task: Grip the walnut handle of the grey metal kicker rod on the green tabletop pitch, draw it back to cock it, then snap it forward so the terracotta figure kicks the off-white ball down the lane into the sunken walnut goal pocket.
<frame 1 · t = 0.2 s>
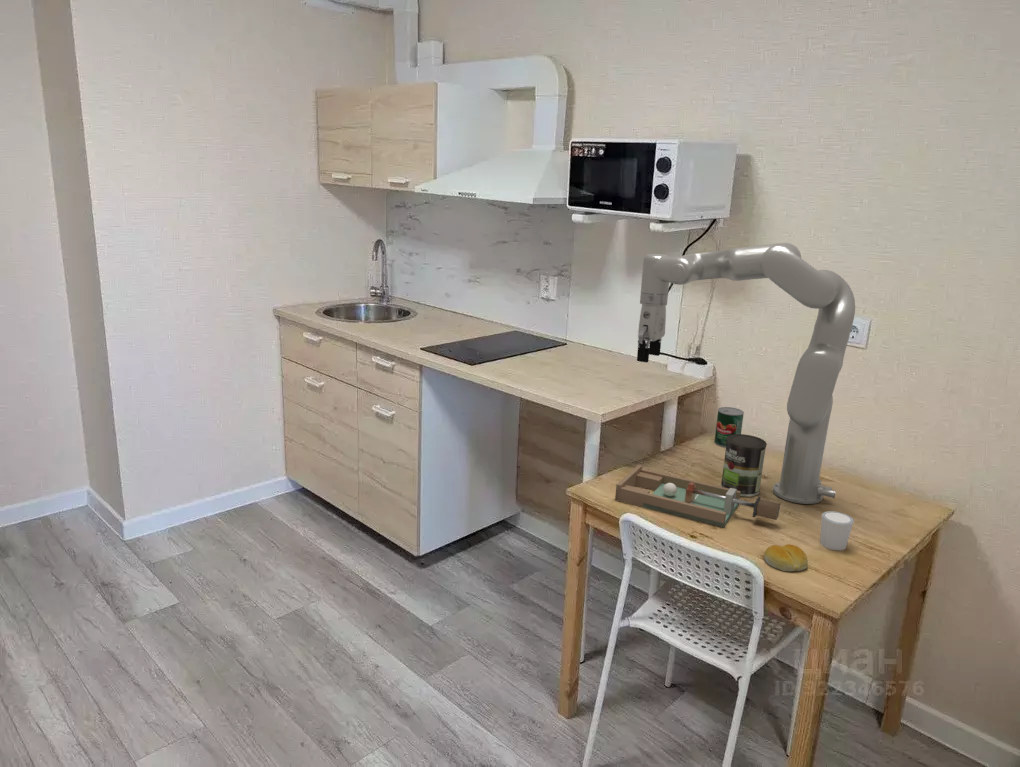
hand: (648, 358, 211), 31 cm above the table, fingers open, 9 cm apart
kicker rod: (731, 501, 185), point 4 cm above the table, slide at 3.0 cm
canned tomato: (726, 444, 236), on the table
bread roll: (785, 564, 164), on the table
pitch: (677, 502, 192), on the table
white cup: (832, 545, 173), on the table
ball: (670, 489, 192), point 3 cm above the table, touching pitch
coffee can: (740, 489, 202), on the table
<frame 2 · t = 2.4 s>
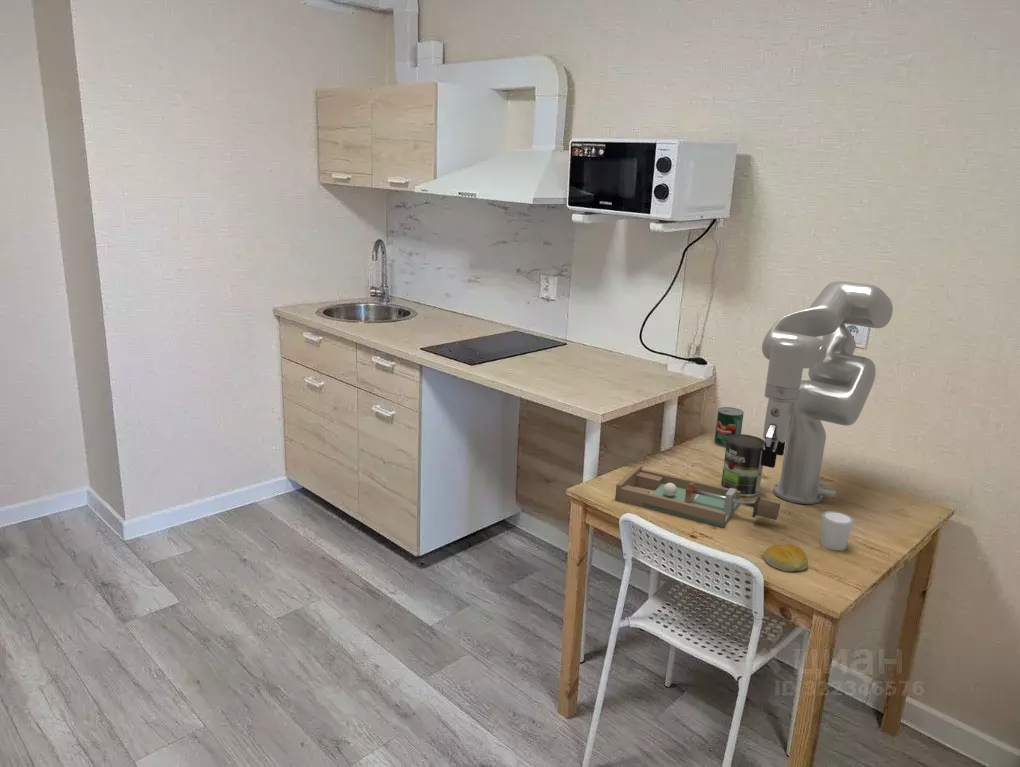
hand: (772, 460, 178), 17 cm above the table, fingers open, 9 cm apart
nothing on the table moved.
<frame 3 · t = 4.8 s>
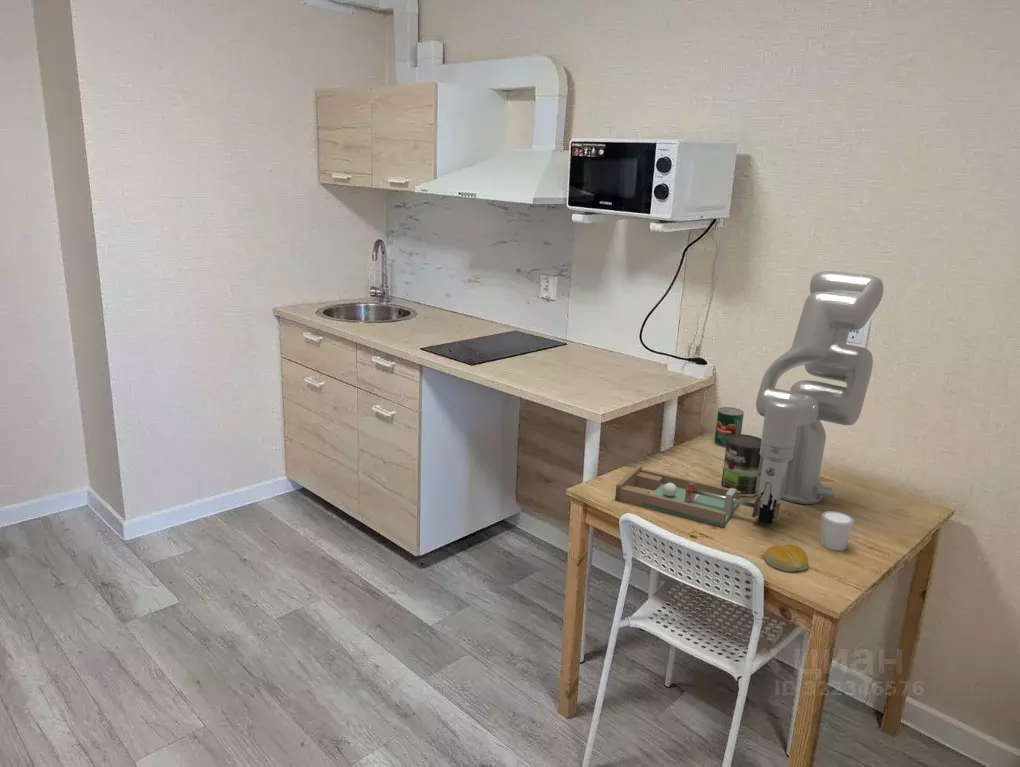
hand: (766, 519, 181), 1 cm above the table, fingers closed on kicker rod, 3 cm apart
kicker rod: (731, 501, 185), point 4 cm above the table, slide at 3.0 cm, touching gripper
everything else where it was.
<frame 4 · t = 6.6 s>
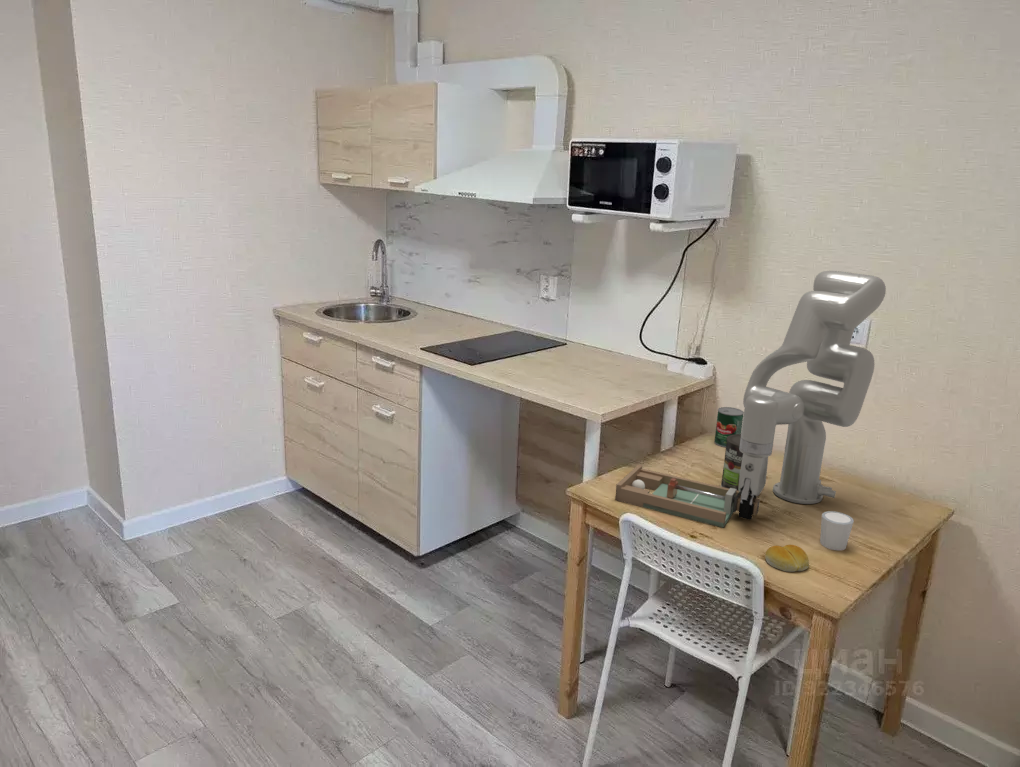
hand: (746, 514, 184), 1 cm above the table, fingers closed on kicker rod, 3 cm apart
kicker rod: (712, 496, 187), point 4 cm above the table, slide at 7.8 cm, touching gripper
ball: (638, 486, 197), point 2 cm above the table, tilted 88°
everything else where it was.
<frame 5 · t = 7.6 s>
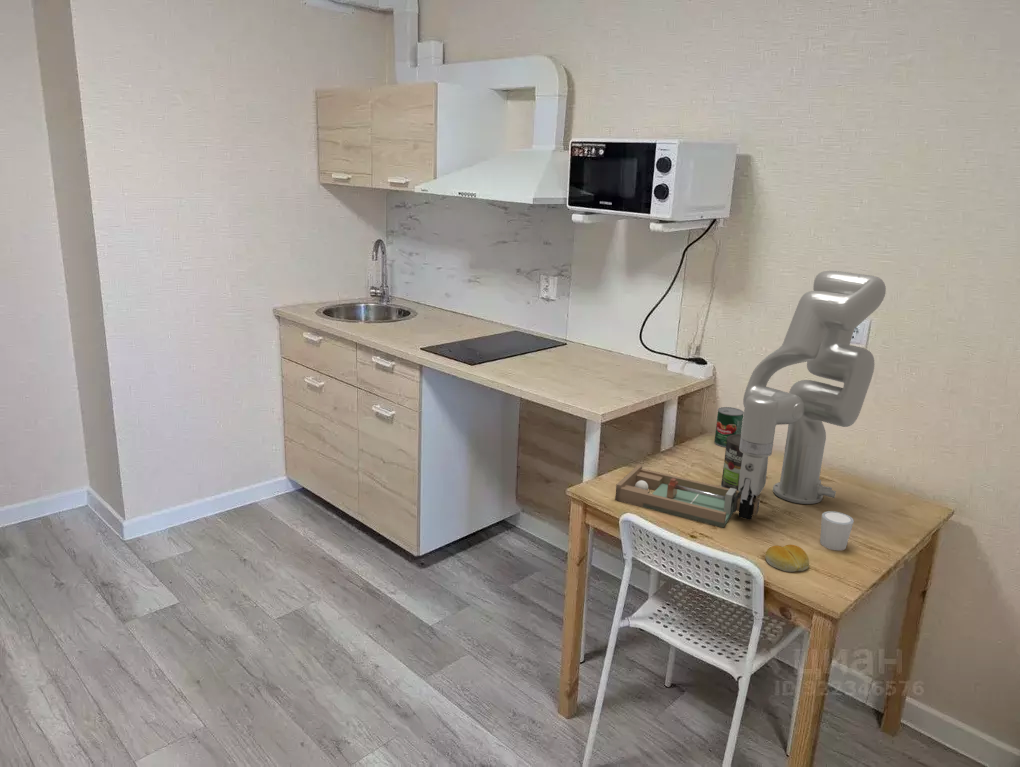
hand: (746, 514, 184), 1 cm above the table, fingers closed on kicker rod, 3 cm apart
kicker rod: (712, 496, 187), point 4 cm above the table, slide at 7.8 cm, touching gripper
ball: (641, 487, 196), point 2 cm above the table, tilted 115°
everything else where it was.
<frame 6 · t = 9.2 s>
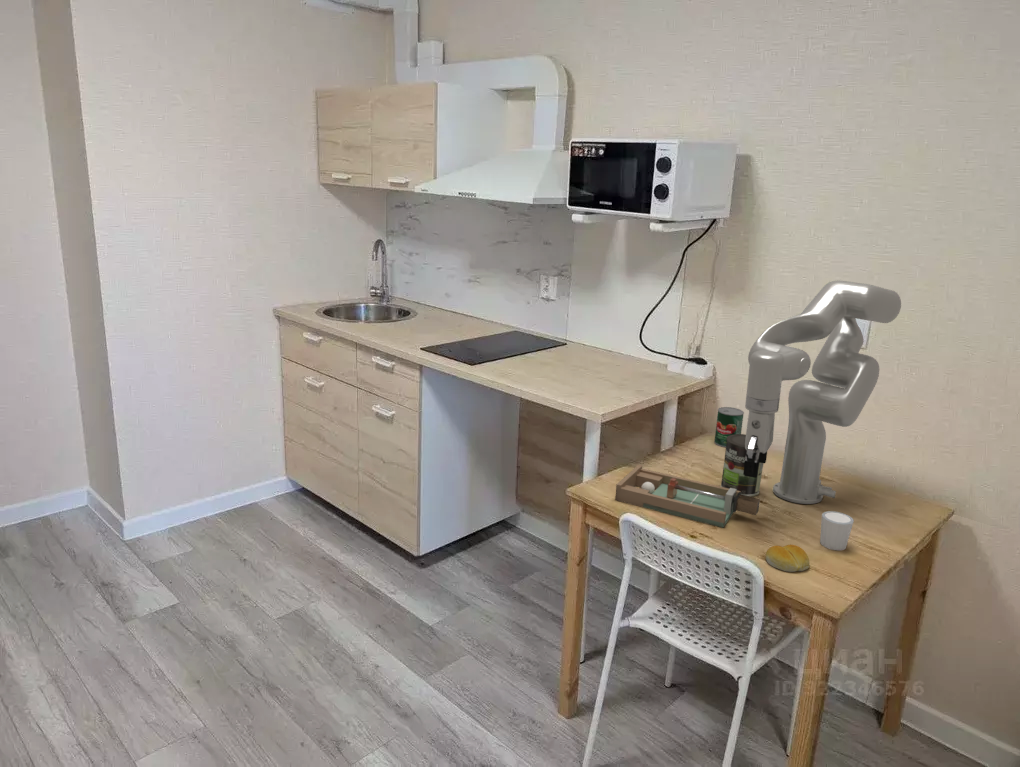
hand: (754, 469, 181), 13 cm above the table, fingers open, 9 cm apart
kicker rod: (712, 496, 187), point 4 cm above the table, slide at 7.8 cm
ball: (647, 488, 195), point 2 cm above the table, tilted 174°
everything else where it was.
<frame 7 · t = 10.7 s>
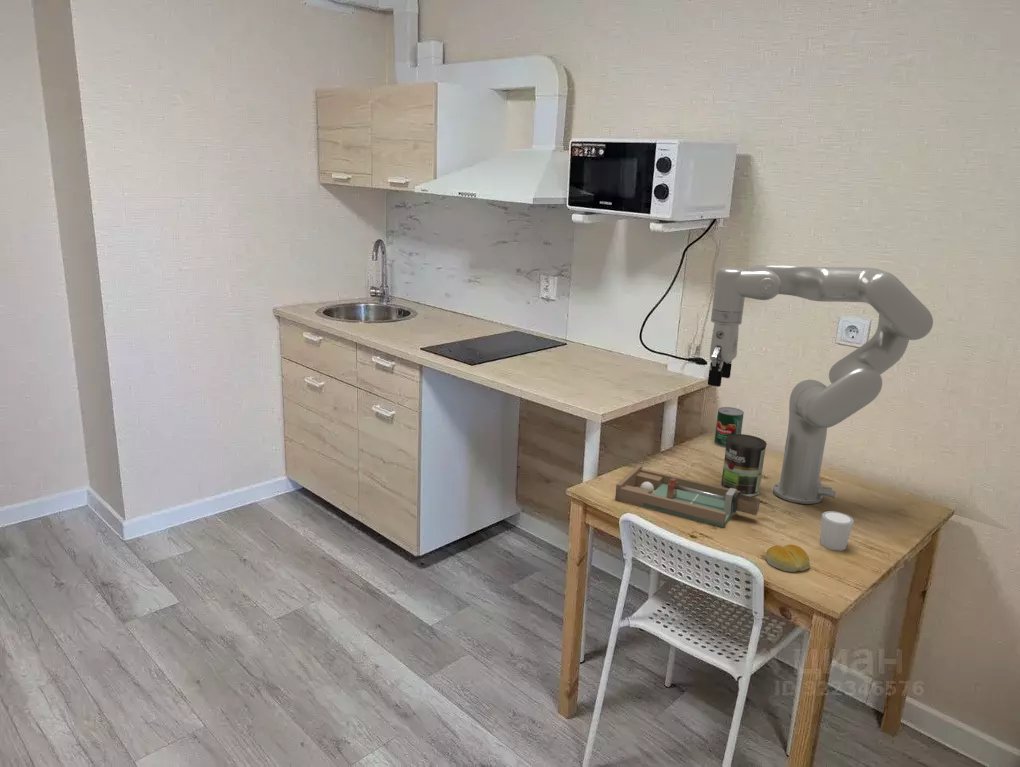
hand: (718, 381, 193), 30 cm above the table, fingers open, 9 cm apart
ball: (646, 488, 196), point 2 cm above the table, tilted 164°
everything else where it was.
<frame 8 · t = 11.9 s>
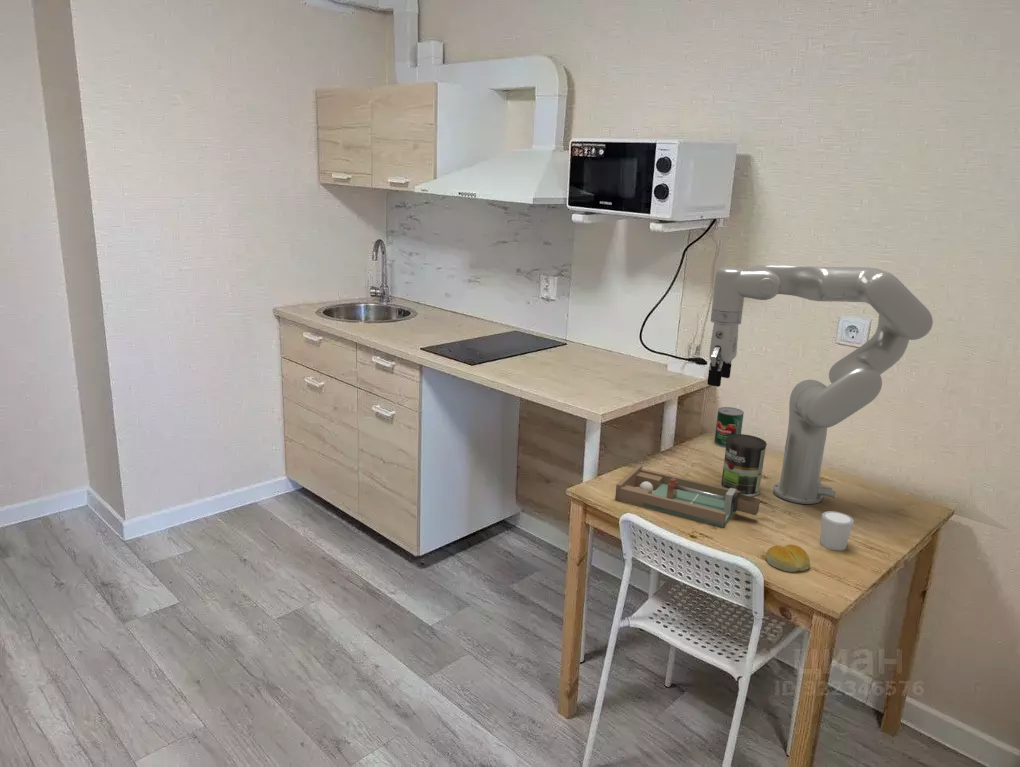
hand: (718, 381, 193), 30 cm above the table, fingers open, 9 cm apart
ball: (646, 488, 196), point 2 cm above the table, tilted 157°
everything else where it was.
at the end: ball inside the target area on the pitch (1.3 cm from its centre), point 1.7 cm above the pitch's base; kicker rod slide at 7.8 cm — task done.
